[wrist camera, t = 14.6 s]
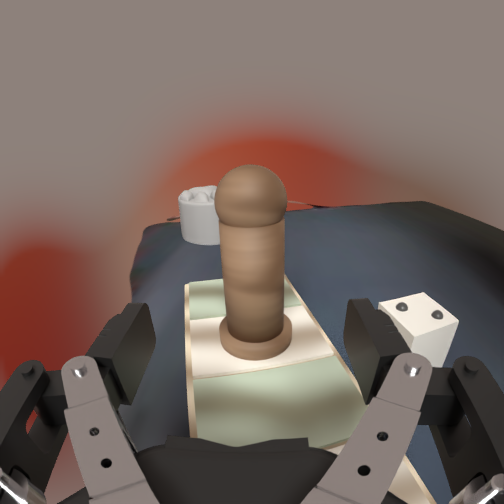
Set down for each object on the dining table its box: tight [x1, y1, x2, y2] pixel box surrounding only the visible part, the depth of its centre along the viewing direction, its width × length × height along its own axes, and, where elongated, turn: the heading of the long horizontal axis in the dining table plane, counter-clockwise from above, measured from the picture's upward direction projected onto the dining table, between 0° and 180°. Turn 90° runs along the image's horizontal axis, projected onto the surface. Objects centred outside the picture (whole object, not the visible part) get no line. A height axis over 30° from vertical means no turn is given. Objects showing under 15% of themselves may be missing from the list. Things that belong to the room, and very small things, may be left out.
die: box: [378, 292, 459, 368], centre depth 22 cm, size 5×5×6 cm
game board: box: [185, 274, 436, 504], centre depth 22 cm, size 32×12×2 cm, turn 11°
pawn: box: [214, 165, 292, 361], centre depth 22 cm, size 6×6×14 cm
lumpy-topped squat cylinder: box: [178, 186, 220, 245], centre depth 56 cm, size 10×13×9 cm
